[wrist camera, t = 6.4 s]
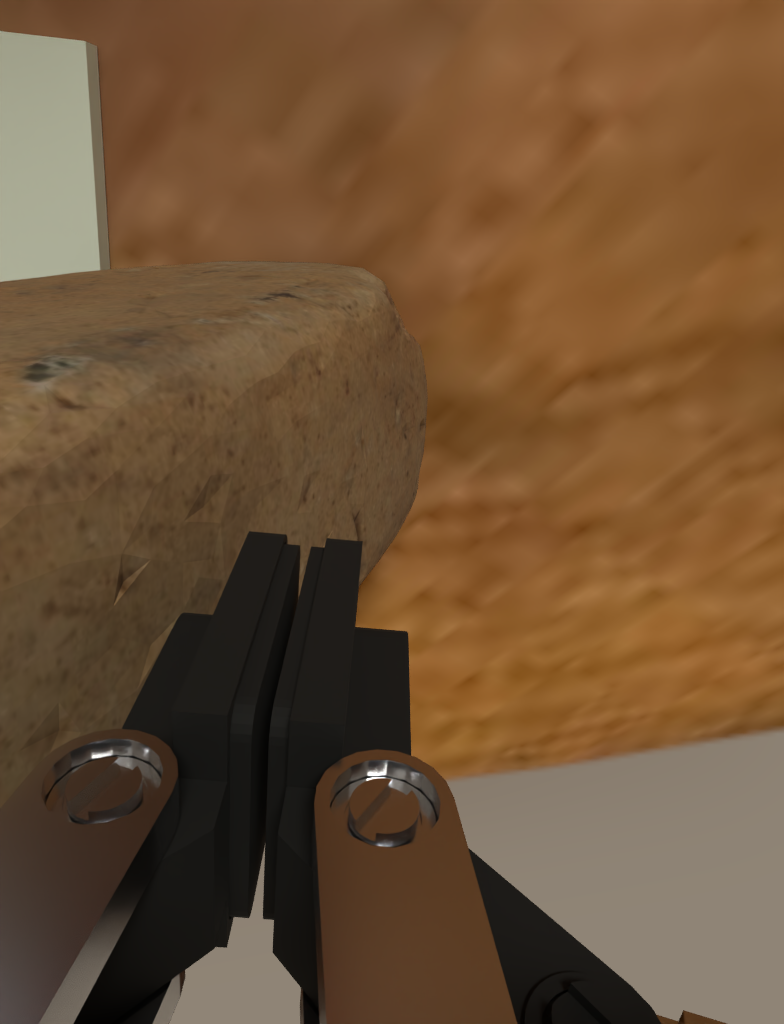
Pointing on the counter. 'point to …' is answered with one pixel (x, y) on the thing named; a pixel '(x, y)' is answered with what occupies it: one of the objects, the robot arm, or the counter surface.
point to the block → (179, 462)
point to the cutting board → (50, 158)
